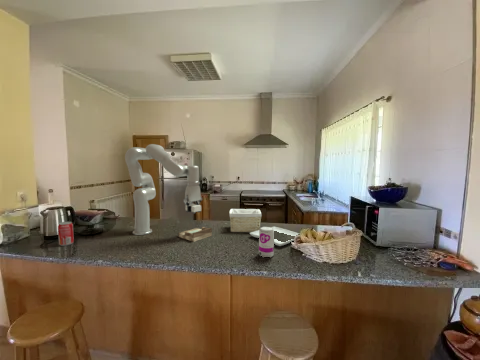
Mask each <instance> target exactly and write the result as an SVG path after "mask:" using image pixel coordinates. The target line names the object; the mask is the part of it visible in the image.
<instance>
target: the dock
mask: <svg viewBox="0 0 480 360" xmlns="http://www.w3.org/2000/svg"><path fill="white" fill-rule="evenodd" d="M212 231H213V228H212V227H205V226H202V227H201V228H199V227H195V228H191V229H186V230H183V231H180V232H177V237H179V238H181V239H183V240H188V241H189V242H194V243H195V242H197V241H201V240H203V239H207V238H209V237H212V236H213V235H212V234H213V232H212Z"/></svg>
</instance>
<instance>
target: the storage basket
mask: <svg viewBox="0 0 480 360" xmlns="http://www.w3.org/2000/svg"><path fill="white" fill-rule="evenodd" d="M228 216H229V220H230V222H229V224H230V232H231V233H251V232H254V231H258V230H260V228H261V222H262V221H261V219H262V212H261V210H260V209H259V208H257V209H256V208H246V209H245V208H230V210H229V215H228Z"/></svg>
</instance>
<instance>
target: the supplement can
mask: <svg viewBox="0 0 480 360" xmlns="http://www.w3.org/2000/svg"><path fill="white" fill-rule="evenodd" d="M271 227H272V226H262V227H261V226H260V230H259V239H258V255H259V256H260V257H261V256H262V257H261V258H264V257H270V258H272V257H273V256H274V255H275V254H274V252H275V245H274V230H273V228H271Z"/></svg>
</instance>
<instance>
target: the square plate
mask: <svg viewBox="0 0 480 360" xmlns="http://www.w3.org/2000/svg"><path fill="white" fill-rule="evenodd" d="M270 227H271V228H273V230H274V231H277V232H279V233H284V234H287V235H291V236H296V235H298V234H300V233H299V232H296V231H291V230H289V229H287V228H282V227H277V226H270ZM249 234H250V236H252V237H253V238H257V239H258V238H259V230H258V231H254V232H249ZM292 241H294V239H291V240H288V241H286V242H281V241H278V240H277V239H274V244H275V245H274V246H277V247H282V246H284V245H287V244H290V242H291V243H293V242H292ZM294 242H295V241H294Z"/></svg>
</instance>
